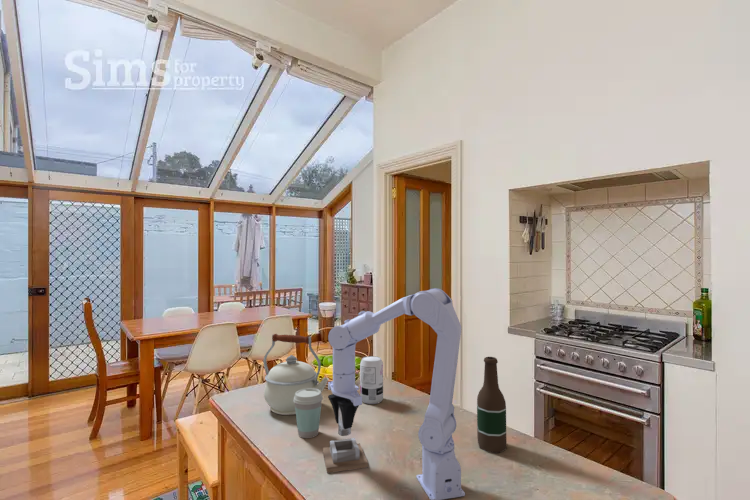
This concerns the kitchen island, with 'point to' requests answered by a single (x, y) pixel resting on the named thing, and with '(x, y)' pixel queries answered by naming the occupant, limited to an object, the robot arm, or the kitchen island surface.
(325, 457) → the block
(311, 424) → the coffee cup
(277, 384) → the kettle
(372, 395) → the supplement can
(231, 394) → the kitchen island surface
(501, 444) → the beer bottle
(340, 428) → the shaft
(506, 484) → the kitchen island surface
